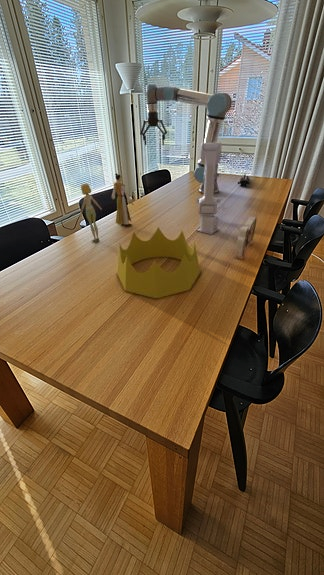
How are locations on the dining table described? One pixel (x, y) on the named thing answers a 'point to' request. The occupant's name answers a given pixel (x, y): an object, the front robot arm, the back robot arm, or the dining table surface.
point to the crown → (155, 278)
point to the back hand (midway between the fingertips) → (154, 145)
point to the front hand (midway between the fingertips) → (207, 214)
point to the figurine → (121, 203)
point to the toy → (244, 181)
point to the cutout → (245, 236)
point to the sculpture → (90, 209)
